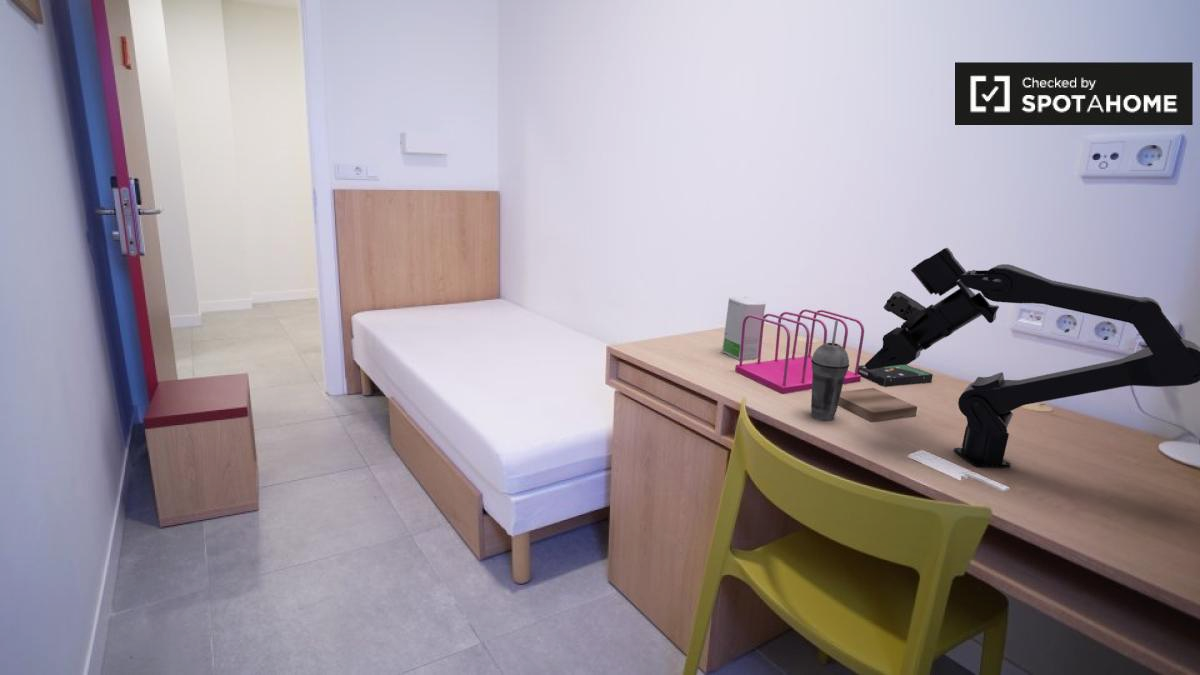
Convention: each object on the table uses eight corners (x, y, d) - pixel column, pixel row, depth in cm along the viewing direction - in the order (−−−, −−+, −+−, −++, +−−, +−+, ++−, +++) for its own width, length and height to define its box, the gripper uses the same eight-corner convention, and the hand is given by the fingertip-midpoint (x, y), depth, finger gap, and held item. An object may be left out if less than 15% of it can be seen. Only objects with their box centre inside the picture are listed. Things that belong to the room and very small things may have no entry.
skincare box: (721, 352, 168) (726, 297, 164) (740, 350, 171) (746, 296, 167) (740, 361, 161) (746, 303, 157) (760, 358, 164) (766, 302, 160)
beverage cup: (801, 418, 123) (813, 322, 118) (807, 407, 130) (819, 316, 125) (838, 426, 120) (853, 328, 115) (843, 414, 126) (857, 321, 121)
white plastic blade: (990, 499, 95) (991, 493, 95) (904, 460, 108) (905, 454, 107) (1008, 492, 97) (1010, 485, 97) (922, 454, 110) (923, 448, 110)
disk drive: (884, 389, 145) (932, 384, 150) (886, 378, 144) (934, 373, 149) (853, 376, 154) (899, 371, 159) (855, 365, 154) (901, 361, 158)
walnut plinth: (915, 415, 127) (917, 406, 127) (871, 421, 123) (873, 412, 123) (872, 396, 138) (873, 387, 138) (830, 401, 134) (831, 392, 133)
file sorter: (734, 372, 152) (740, 311, 148) (808, 362, 163) (816, 305, 159) (782, 394, 137) (790, 327, 133) (861, 382, 148) (870, 319, 144)
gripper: (929, 274, 116) (861, 320, 126) (905, 285, 102) (830, 336, 112) (968, 321, 114) (896, 365, 123) (949, 339, 99) (869, 387, 109)
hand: (873, 362), depth 117 cm, fingers open, 9 cm apart
